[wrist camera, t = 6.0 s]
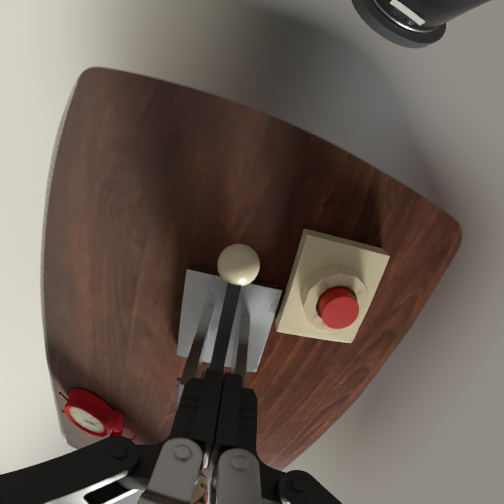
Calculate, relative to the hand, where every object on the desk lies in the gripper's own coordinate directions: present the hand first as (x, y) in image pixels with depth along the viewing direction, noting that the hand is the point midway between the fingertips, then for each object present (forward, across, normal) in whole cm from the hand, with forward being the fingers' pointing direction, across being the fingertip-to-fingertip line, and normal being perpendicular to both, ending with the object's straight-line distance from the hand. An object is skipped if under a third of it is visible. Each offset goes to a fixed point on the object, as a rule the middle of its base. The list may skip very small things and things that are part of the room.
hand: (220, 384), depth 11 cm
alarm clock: (+19, +19, +38) cm, 46 cm away
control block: (+19, -10, +3) cm, 21 cm away
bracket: (+19, 0, +10) cm, 21 cm away
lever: (+12, 0, +6) cm, 13 cm away
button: (+15, -10, +3) cm, 18 cm away
